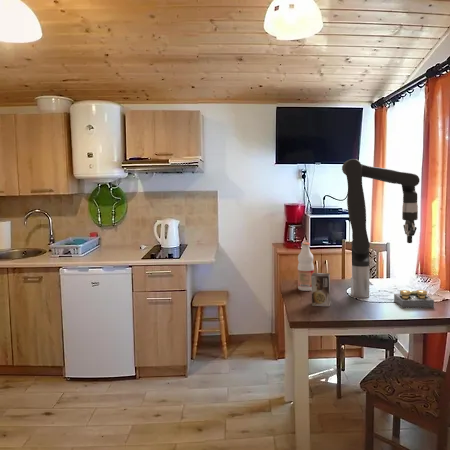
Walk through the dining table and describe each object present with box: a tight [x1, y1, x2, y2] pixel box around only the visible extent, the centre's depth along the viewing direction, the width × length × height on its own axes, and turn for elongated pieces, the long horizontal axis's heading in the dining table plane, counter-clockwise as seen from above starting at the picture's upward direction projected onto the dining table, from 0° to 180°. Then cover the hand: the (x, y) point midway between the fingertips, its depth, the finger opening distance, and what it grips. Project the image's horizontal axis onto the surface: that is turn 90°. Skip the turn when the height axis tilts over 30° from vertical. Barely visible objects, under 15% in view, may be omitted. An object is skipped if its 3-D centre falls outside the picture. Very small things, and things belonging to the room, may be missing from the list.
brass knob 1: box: [399, 289, 411, 298], centre depth 206 cm, size 5×5×7 cm
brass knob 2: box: [415, 289, 428, 298], centre depth 205 cm, size 5×5×7 cm
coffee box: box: [311, 272, 331, 307], centre depth 210 cm, size 9×6×16 cm
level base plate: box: [393, 290, 435, 309], centre depth 206 cm, size 15×12×6 cm
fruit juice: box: [297, 241, 315, 292], centre depth 240 cm, size 9×9×28 cm
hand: (409, 242), depth 219 cm, fingers closed
